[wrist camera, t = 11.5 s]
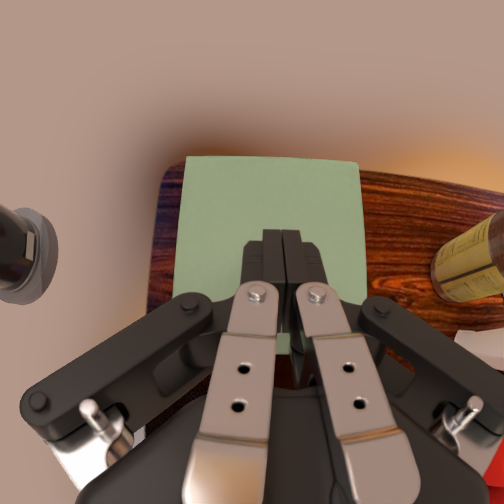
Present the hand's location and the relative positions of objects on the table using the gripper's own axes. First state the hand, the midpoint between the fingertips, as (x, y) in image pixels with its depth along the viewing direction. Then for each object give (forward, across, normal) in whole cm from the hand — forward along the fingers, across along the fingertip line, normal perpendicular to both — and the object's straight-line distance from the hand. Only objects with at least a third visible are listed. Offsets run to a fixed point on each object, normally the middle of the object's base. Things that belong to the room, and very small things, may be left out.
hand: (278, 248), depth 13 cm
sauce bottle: (+12, -19, +10) cm, 24 cm away
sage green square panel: (+5, 0, +4) cm, 6 cm away
